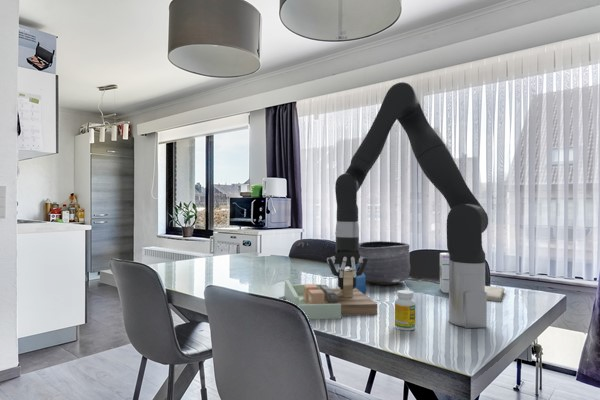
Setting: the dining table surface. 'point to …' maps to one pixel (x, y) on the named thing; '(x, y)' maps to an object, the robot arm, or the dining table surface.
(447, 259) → the syrup box
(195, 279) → the dining table surface
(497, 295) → the washcloth
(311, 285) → the tile
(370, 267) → the tea bowl
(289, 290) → the tray
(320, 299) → the peach block
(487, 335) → the dining table surface
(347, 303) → the block
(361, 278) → the perfume bottle
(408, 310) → the supplement bottle
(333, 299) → the scraper
